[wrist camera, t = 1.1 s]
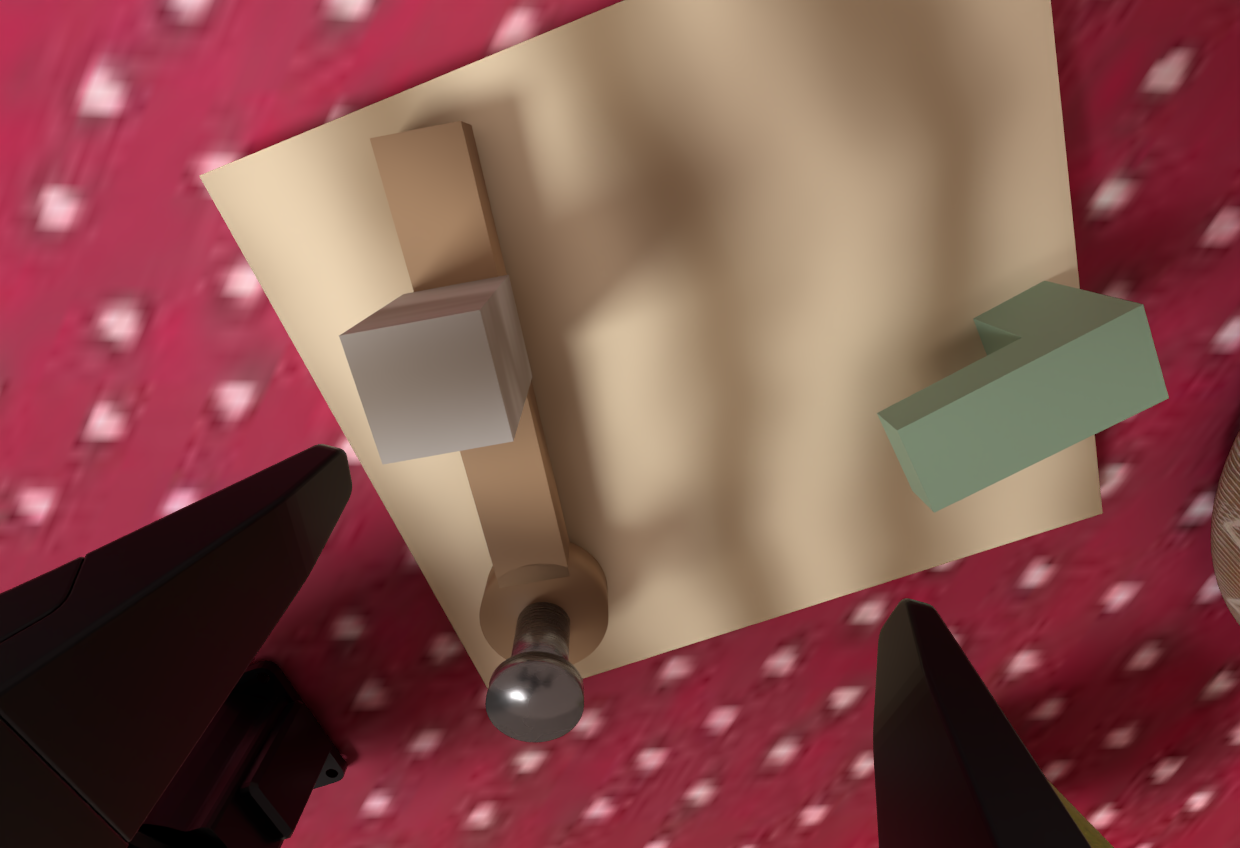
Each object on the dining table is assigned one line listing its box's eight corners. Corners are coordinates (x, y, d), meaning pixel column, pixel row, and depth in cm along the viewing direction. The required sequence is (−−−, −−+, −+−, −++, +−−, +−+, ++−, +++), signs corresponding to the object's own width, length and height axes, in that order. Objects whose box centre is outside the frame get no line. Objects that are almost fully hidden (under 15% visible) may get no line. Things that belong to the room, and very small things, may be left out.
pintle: (521, 667, 23) (509, 753, 19) (488, 605, 22) (469, 683, 18) (596, 643, 23) (598, 725, 19) (566, 578, 22) (562, 653, 18)
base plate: (501, 683, 27) (497, 705, 26) (221, 175, 20) (199, 176, 19) (1079, 497, 25) (1102, 513, 24) (1006, -148, 18) (1033, -169, 17)
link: (617, 629, 25) (625, 781, 18) (502, 648, 25) (473, 806, 19) (506, 118, 18) (463, 90, 12) (352, 147, 18) (232, 135, 12)
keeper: (865, 443, 24) (934, 512, 19) (833, 376, 23) (897, 430, 18) (1047, 350, 23) (1168, 397, 18) (1021, 275, 22) (1143, 304, 17)
